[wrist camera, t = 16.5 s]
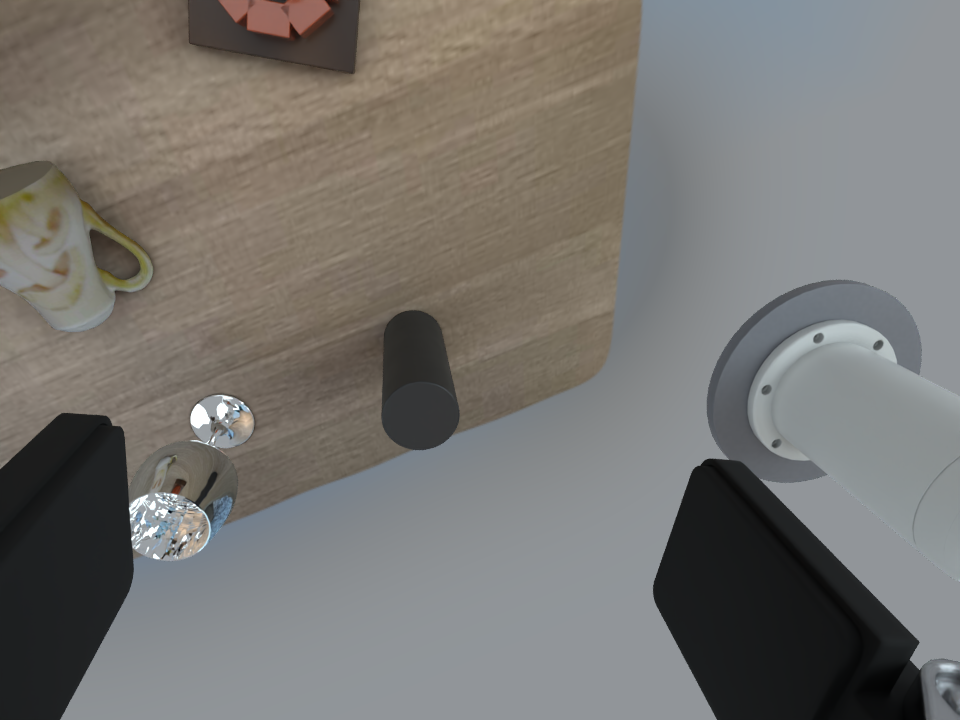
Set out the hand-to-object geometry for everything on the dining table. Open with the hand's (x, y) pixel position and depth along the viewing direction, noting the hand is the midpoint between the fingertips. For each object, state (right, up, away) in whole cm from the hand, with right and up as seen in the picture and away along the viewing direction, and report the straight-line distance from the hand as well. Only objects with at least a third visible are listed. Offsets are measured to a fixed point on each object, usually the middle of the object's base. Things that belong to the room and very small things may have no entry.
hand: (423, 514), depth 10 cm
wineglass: (-18, -2, +34) cm, 38 cm away
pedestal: (-4, +4, +33) cm, 34 cm away
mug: (-25, +10, +28) cm, 38 cm away
